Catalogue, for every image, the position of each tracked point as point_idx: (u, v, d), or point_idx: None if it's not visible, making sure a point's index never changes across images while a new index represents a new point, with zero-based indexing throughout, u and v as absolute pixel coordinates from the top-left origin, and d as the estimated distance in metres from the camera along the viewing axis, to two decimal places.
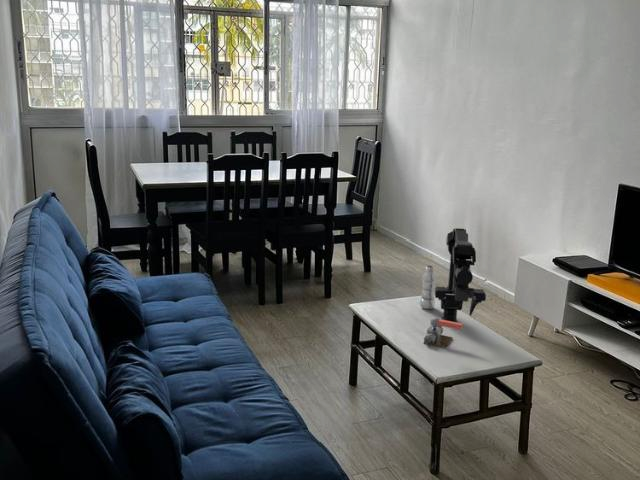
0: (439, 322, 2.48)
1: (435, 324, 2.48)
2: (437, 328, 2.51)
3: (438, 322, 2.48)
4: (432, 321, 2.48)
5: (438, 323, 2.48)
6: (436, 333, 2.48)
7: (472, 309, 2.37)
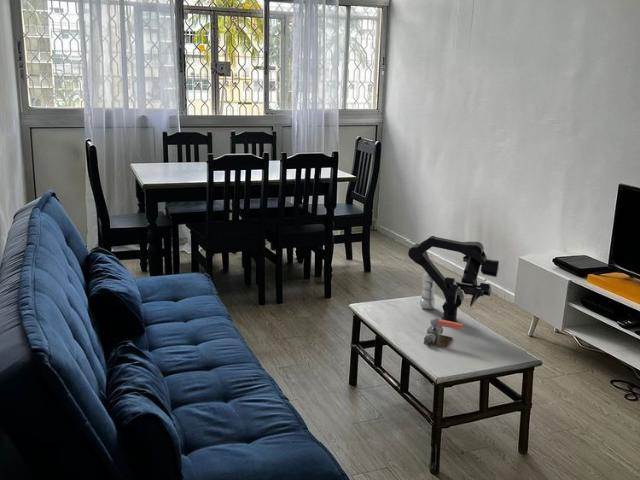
0: (439, 322, 2.48)
1: (435, 324, 2.48)
2: (437, 328, 2.51)
3: (438, 322, 2.48)
4: (432, 321, 2.48)
5: (438, 323, 2.48)
6: (436, 333, 2.48)
7: None
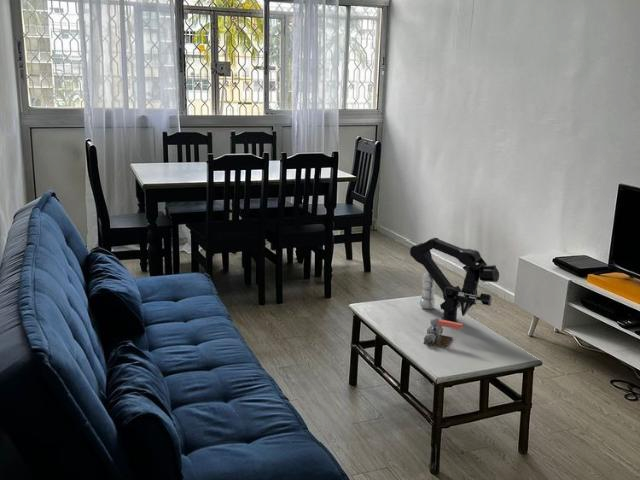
0: (439, 322, 2.48)
1: (435, 324, 2.48)
2: (437, 328, 2.51)
3: (438, 322, 2.48)
4: (432, 321, 2.48)
5: (438, 323, 2.48)
6: (436, 333, 2.48)
7: None
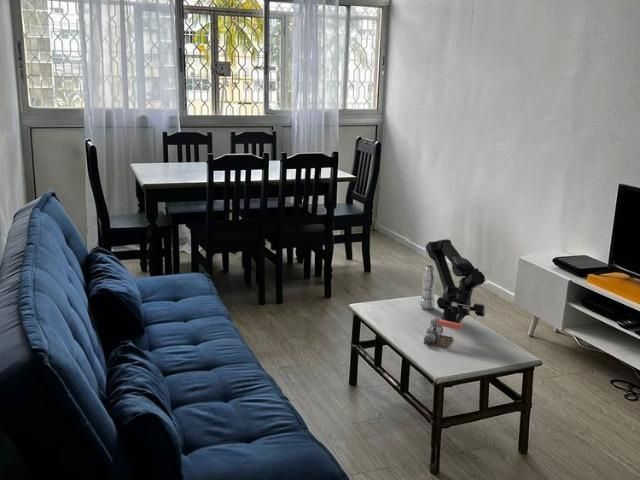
0: (439, 322, 2.48)
1: (435, 324, 2.48)
2: (437, 328, 2.51)
3: (438, 322, 2.48)
4: (432, 321, 2.48)
5: (438, 323, 2.48)
6: (436, 333, 2.48)
7: None
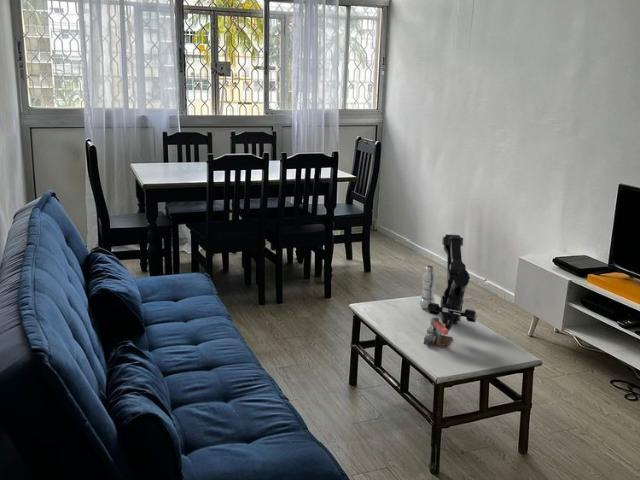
0: (434, 322, 2.47)
1: (432, 323, 2.49)
2: None
3: (434, 322, 2.48)
4: None
5: (434, 323, 2.48)
6: (436, 333, 2.48)
7: None
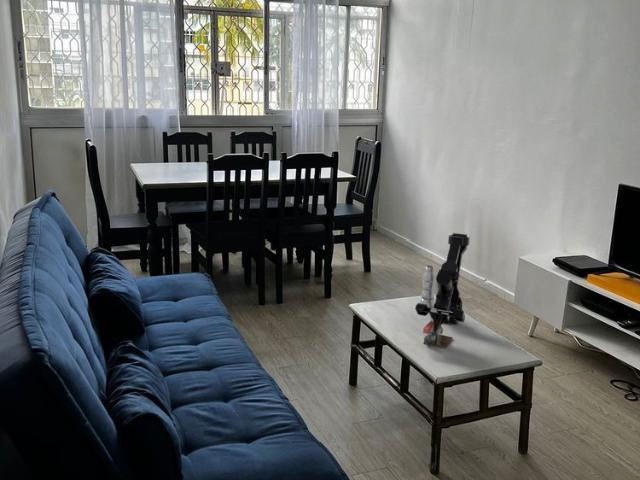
0: None
1: None
2: None
3: None
4: None
5: None
6: (436, 333, 2.48)
7: None
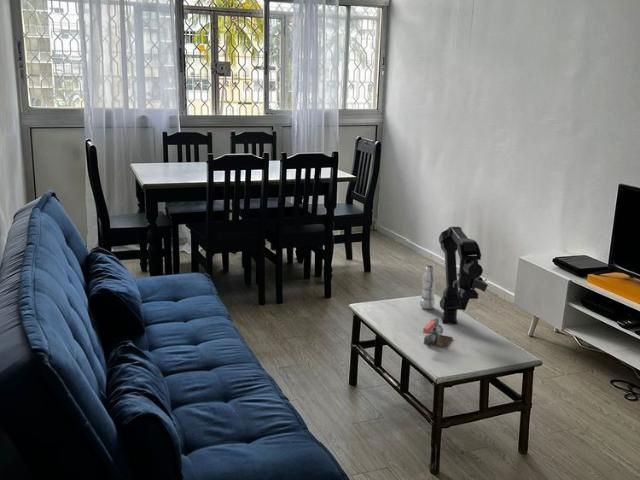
0: None
1: None
2: (437, 328, 2.51)
3: None
4: None
5: None
6: (436, 333, 2.48)
7: None
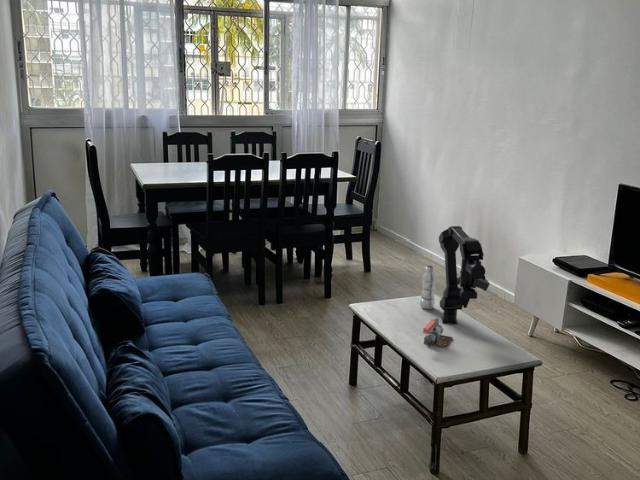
0: None
1: None
2: (437, 328, 2.51)
3: None
4: None
5: None
6: (436, 333, 2.48)
7: None
